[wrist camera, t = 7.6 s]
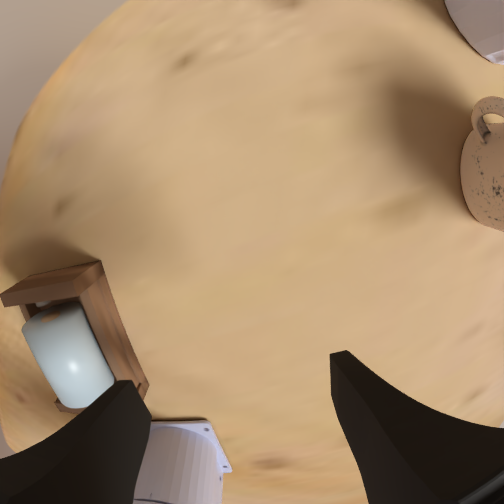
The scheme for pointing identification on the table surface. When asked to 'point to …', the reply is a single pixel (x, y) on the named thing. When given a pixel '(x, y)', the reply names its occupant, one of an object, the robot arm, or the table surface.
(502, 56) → the soap bottle
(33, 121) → the table surface
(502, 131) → the beige mug
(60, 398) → the roll
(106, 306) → the holder
